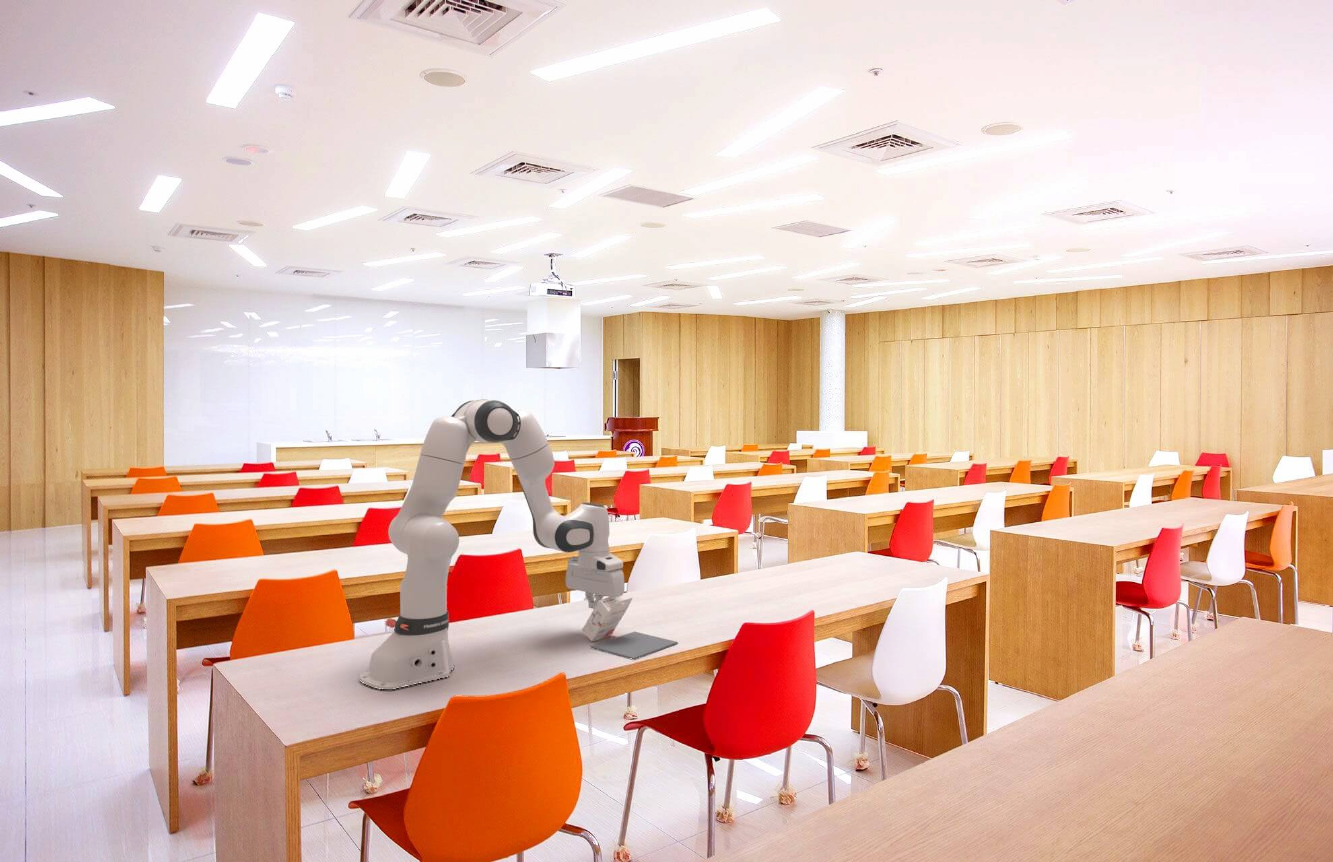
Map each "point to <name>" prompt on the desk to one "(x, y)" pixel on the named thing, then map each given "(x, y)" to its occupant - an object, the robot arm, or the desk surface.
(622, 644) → the rubber mat
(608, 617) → the ink cartridge box
